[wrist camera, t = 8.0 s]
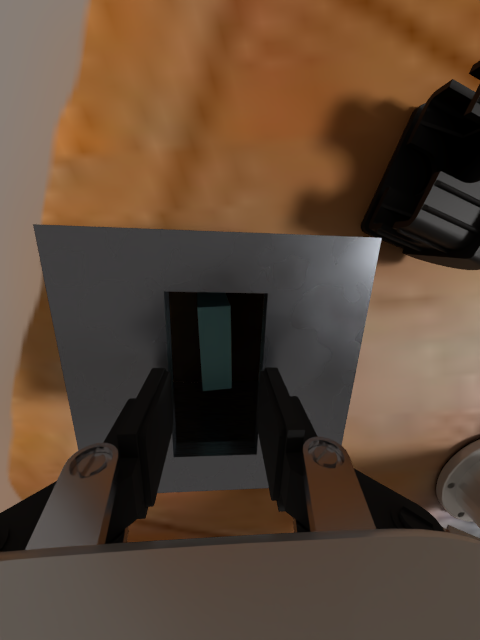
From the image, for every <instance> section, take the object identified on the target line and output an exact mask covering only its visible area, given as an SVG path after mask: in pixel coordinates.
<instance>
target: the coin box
mask: <svg viewBox="0 0 480 640" xmlns="http://www.w3.org/2000/svg"><path fill="white" fill-rule="evenodd" d="M33 226H34V231H35V236H36V241H37V246H38V251H39V256H40V261H41V266H42V271H43V276H44V281H45V286H46V291H47V296H48V301H49V306H50V311H51V316H52V321H53V326H54V331H55V336H56V341H57V346H58V351H59V356H60V361H61V366H62V371H63V376H64V381H65V386H66V390H67V395H68V400H69V405H70V410H71V415H72V420H73V425H74V430H75V435H76V440H77V445H78V450H81V449H82V448H84V447H87V446H89V445H92V444H96V443H103V442H104V440H105V439H106V437H107V435H108V433H109V432H110V430H111V428H112V426H113V425H114V423H115V421H116V420H117V418H118V416H119V414H120V413H121V411H122V409H123V407H124V406H125V404H126V402H127V401H128V399H130V398H136V397H137V396H138V394H139V392H140V390H141V388H142V386H143V384H144V382H145V380H146V379H147V377H148V375H149V373H150V371H151V369H152V368H166V371H170V372H171V387H172V405H173V431H172V435H171V439H170V443H169V447H168V451H167V455H166V459H165V463H164V467H163V471H162V475H161V479H160V483H159V487H158V492H157V493H167V492H190V491H212V490H235V489H257V488H269V486H268V481H267V476H266V470H265V465H264V460H263V455H262V450H261V445H260V440H259V435H258V429H257V410H258V395H259V380H260V371H264V369H265V367H277V368H278V370H279V372H280V374H281V377H282V379H283V381H284V383H285V386H286V388H287V390H288V392H289V395H290V396H297V397H298V398H299V400H300V402H301V404H302V406H303V408H304V410H305V412H306V414H307V416H308V418H309V420H310V422H311V424H312V426H313V428H314V430H315V432H316V434H317V436H318V437H325V438H329V439H331V440H334V441H336V442H337V443H339V444H340V445H342V440H343V434H344V429H345V424H346V419H347V414H348V409H349V404H350V399H351V393H352V388H353V383H354V378H355V373H356V368H357V363H358V357H359V352H360V347H361V342H362V337H363V332H364V327H365V321H366V316H367V311H368V306H369V301H370V296H371V291H372V286H373V280H374V275H375V270H376V265H377V260H378V255H379V250H380V244H381V239H382V238H373V237H347V236H321V235H295V234H269V233H243V232H216V231H190V230H164V229H138V228H112V227H86V226H60V225H33ZM169 292H219V293H264V300H263V315H262V331H261V347H260V362H259V378H258V381H232V388H230V389H219V390H209V391H203V388H202V382H173V365H172V345H171V326H170V307H169Z"/></svg>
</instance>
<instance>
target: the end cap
mask: <svg viewBox="0 0 480 640" xmlns="http://www.w3.org/2000/svg"><path fill="white" fill-rule="evenodd" d="M469 74H470V75H472V76H474V77H476V78H477V79H479V80H480V61H478V62H477V63H476V64H474V65H473V66H472V68H471V70H470V72H469ZM361 229H362V231H363V232H364V233H366V234H369V235H371V236H373V237H376V238H382V239H381V240H383V241H385V242H388V243H390V244H392V245H395V246H397V247H400V248H402V249H403V251H402V253H403V254H405V255H408V256H411V257H413V258H416V259H420V260H423V261H426V262H430V263H434V264H437V265H442V266H446V267H451V268H457V269H465V270H480V85H479V86H478V88H477V90H476V92H474V91H472V90H471V89H469V88H467V87H465V86H464V85H462V84H460V83H459V82H457V81H455V80H453V79H452V80H451V81H449V82H448V83H446V84H445V85H444V86H442V87H441V88H439V89H438V90H436V91H435V92H434V93H433V94H432V95H431V97H430V98H429V99H428V101H427V102H426V103H425V104H423V105H421V106H419V107H418V108H416V109H415V110H414V112H413V113H412V115H411V117H410V120H409V122H408V124H407V126H406V128H405V130H404V133H403V135H402V137H401V139H400V141H399V143H398V146H397V148H396V150H395V152H394V154H393V156H392V159H391V161H390V163H389V165H388V167H387V169H386V171H385V174H384V176H383V178H382V180H381V182H380V184H379V187H378V189H377V191H376V193H375V195H374V197H373V200H372V202H371V204H370V206H369V208H368V210H367V213H366V215H365V217H364V219H363V221H362V224H361Z"/></svg>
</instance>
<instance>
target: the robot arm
mask: <svg viewBox="0 0 480 640" xmlns="http://www.w3.org/2000/svg"><path fill="white" fill-rule="evenodd" d="M257 429H258V435H259V440H260V445H261V450H262V455H263V460H264V465H265V470H266V476H267V481H268V486H269V491H270V496H271V500H272V501H274V500H276V501H277V505H278V510H279V512H280V511H286V512H287V513H288V514H290V515H291V516H292V517H293V525H294V533H281V534H262V535H245V536H227V537H210V538H194V539H177V540H160V541H145V542H129V543H127V539H128V532H129V525H130V524H132V523H133V522H134V521H135V520H136V519H145V518H146V514H147V510H148V507H150V506H154V503H155V500H156V496H157V492H158V487H159V483H160V479H161V475H162V471H163V467H164V463H165V459H166V455H167V451H168V447H169V443H170V439H171V435H172V431H173V405H172V387H171V372H170V371H166V368H152V369H151V371H150V373H149V375H148V377H147V379H146V380H145V382H144V384H143V386H142V388H141V390H140V392H139V394H138V396H137V397H136V398H130V399H128V401H127V402H126V404H125V406H124V407H123V409H122V411H121V413H120V414H119V416H118V418H117V420H116V421H115V423H114V425H113V426H112V428H111V430H110V432H109V433H108V435H107V437H106V439H105V440H104V442H103V443H96V444H92V445H89V446H87V447H84V448H82V449H81V450H79V451H78V452H76V453H74V454H73V455H72V456H71V457H70V458H69V459H68V461H67V462H66V464H65V465H64V467H63V469H62V471H61V474H60V476H59V478H58V480H57V481H56V482H54V483H52V484H51V485H49V486H47V487H45V488H44V489H42V490H40V491H38V492H37V493H35V494H33V495H31V496H30V497H28V498H26V499H24V500H23V501H21V502H19V503H17V504H16V505H14V506H12V507H11V508H9V509H7V510H5V511H3V512H2V513H0V640H480V538H478V537H475V536H473V535H471V534H468V533H466V532H464V531H462V530H459V529H457V528H455V527H452V526H450V525H448V526H447V529H445V528H443V527H442V526H441V525H440V524H439V522H438V521H437V520H436V519H435V518H434V517H433V516H432V515H431V514H430V513H429V512H428V511H426V510H425V509H423V508H422V507H420V506H419V505H417V504H416V503H414V502H412V501H410V500H409V499H407V498H405V497H403V496H401V495H400V494H398V493H396V492H394V491H393V490H391V489H389V488H387V487H386V486H384V485H382V484H380V483H378V482H377V481H375V480H373V479H371V478H370V477H368V476H366V475H364V474H363V473H361V472H359V471H357V470H355V469H354V468H353V465H352V463H351V460H350V457H349V455H348V453H347V451H346V450H345V449H344V448H343V447H342V446H341V445H340V444H339V443H337V442H336V441H334V440H331V439H329V438H325V437H318V436H317V434H316V432H315V430H314V428H313V426H312V424H311V422H310V420H309V418H308V416H307V414H306V412H305V410H304V408H303V406H302V404H301V402H300V400H299V398H298V397H297V396H290V395H289V392H288V390H287V388H286V386H285V383H284V381H283V379H282V377H281V374H280V372H279V370H278V368H277V367H265V369H264V371H260V380H259V395H258V410H257ZM436 494H437V498H438V500H439V502H440V503H441V505H442V506H443V507H444V508H445V510H446V511H447V512H448V513H449V514H450V515H451V516H453V517H455V518H457V519H460V520H464V521H470V522H475V523H476V524H477V526H478V527H479V528H480V439H479V440H477V441H475V442H473V443H470V444H469V445H467V446H466V447H464V448H463V449H461V450H460V451H459V452H457V453H456V454H455V455H454V456H453V457H452V458H451V459H450V460H449V461H448V462H447V463H446V465H445V466H444V468H443V469H442V471H441V473H440V475H439V478H438V480H437V486H436Z"/></svg>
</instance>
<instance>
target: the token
mask: <svg viewBox="0 0 480 640" xmlns="http://www.w3.org/2000/svg"><path fill="white" fill-rule="evenodd" d="M197 310H198V326H199V341H200V357H201V372H202V388H203V391H209V390H219V389H230V388H232V367H231V306H230V303H229V301H228V298H227V296H226V293H219V292H197Z"/></svg>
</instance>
